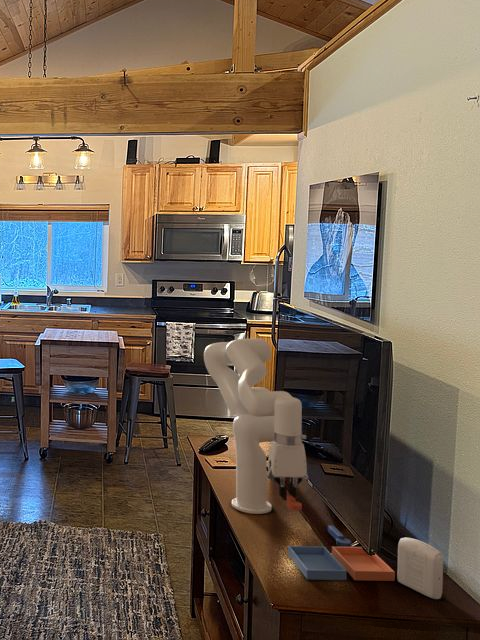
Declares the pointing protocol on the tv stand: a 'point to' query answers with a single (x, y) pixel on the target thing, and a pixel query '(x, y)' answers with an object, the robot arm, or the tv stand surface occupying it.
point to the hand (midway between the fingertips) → (287, 498)
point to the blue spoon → (339, 537)
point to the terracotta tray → (363, 564)
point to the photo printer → (420, 567)
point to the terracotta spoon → (293, 503)
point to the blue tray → (317, 563)
